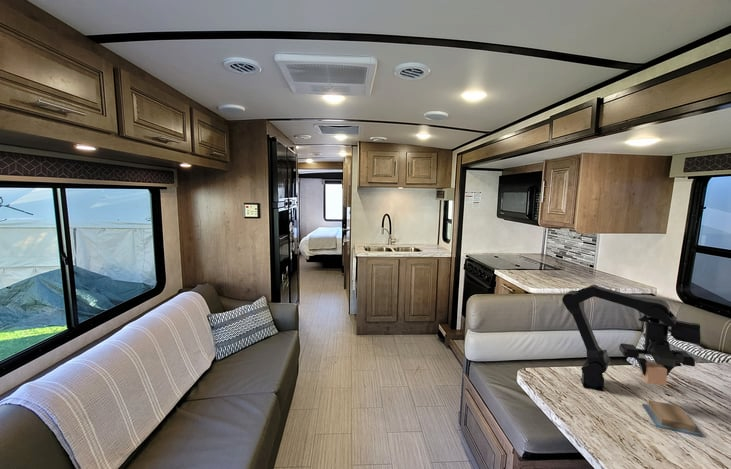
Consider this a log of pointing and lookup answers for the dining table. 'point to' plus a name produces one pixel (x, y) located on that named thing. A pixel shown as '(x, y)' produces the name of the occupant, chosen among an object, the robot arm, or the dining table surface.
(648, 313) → the robot arm
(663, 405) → the foundation block
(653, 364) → the terracotta cube
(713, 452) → the dining table surface
